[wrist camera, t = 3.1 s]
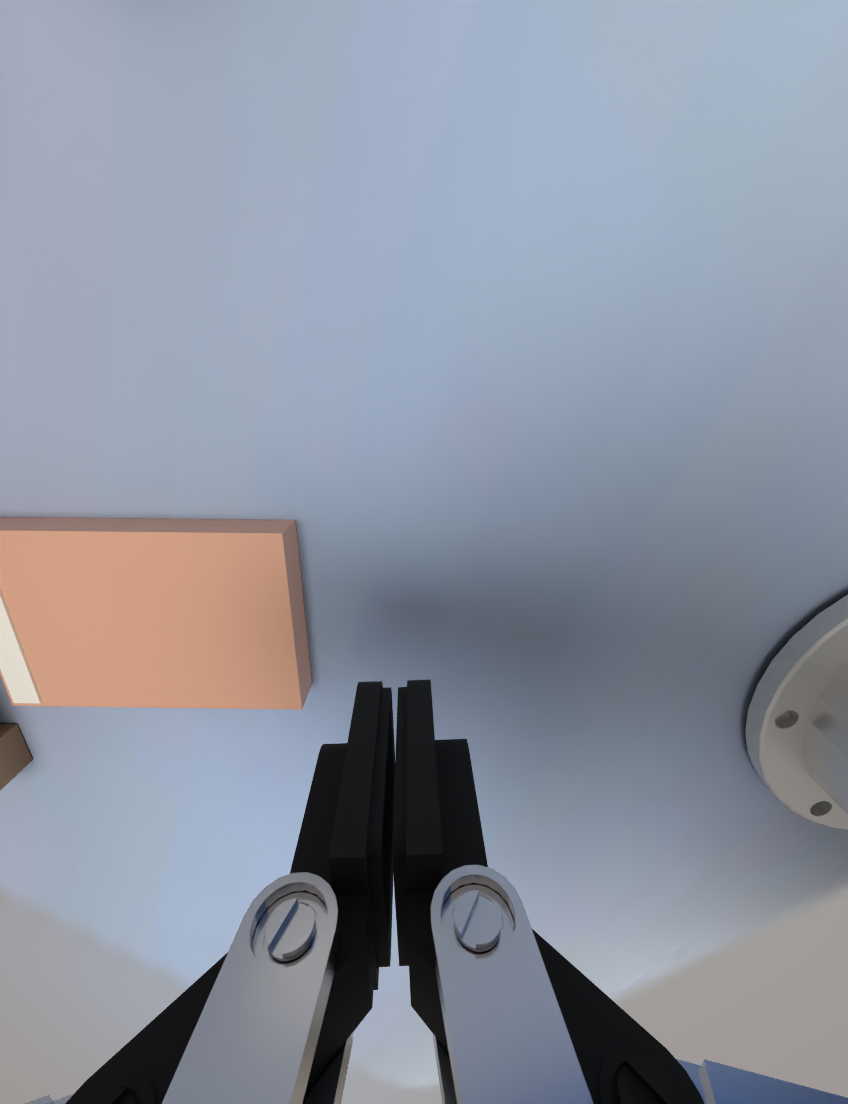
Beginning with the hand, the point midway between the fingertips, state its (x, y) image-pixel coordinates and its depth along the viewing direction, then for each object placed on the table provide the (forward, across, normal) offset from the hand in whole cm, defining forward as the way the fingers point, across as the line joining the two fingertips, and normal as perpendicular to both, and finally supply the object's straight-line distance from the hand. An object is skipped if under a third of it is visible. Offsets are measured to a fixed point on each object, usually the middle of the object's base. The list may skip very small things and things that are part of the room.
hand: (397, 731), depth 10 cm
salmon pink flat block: (+8, +9, 0) cm, 12 cm away
